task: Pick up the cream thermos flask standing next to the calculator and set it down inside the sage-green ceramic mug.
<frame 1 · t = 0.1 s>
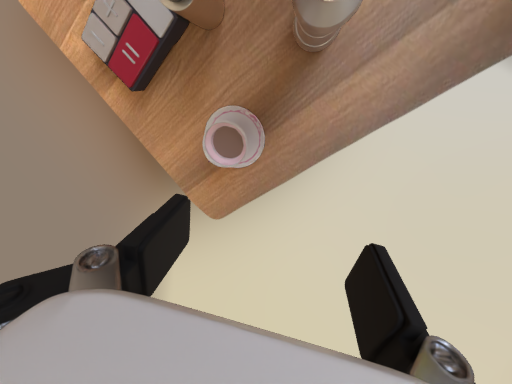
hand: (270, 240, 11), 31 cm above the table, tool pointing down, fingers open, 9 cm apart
flask: (207, 7, 32), on the table
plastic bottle: (316, 27, 31), on the table
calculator: (141, 32, 36), on the table
teacup: (235, 137, 41), on the table
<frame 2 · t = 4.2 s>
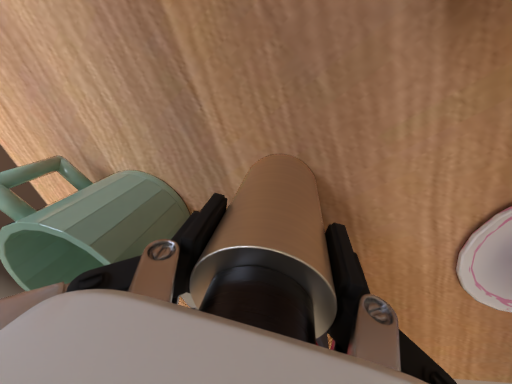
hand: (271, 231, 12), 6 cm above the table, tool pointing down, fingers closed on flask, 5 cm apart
flask: (279, 188, 17), on the table, touching gripper
mug: (146, 215, 21), on the table
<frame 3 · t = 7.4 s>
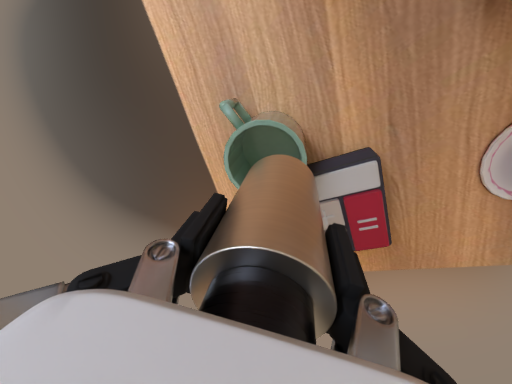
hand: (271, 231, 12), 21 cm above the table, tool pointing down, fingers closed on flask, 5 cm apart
flask: (279, 188, 17), point 15 cm above the table, touching gripper
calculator: (340, 201, 33), on the table
mug: (271, 145, 31), on the table
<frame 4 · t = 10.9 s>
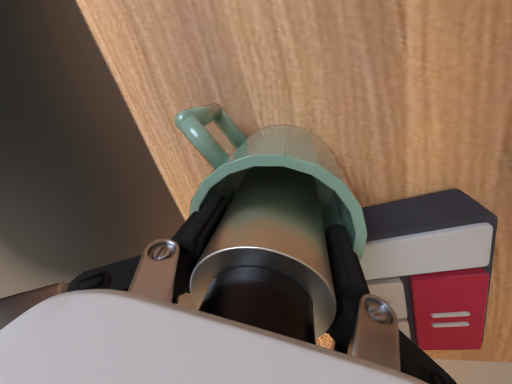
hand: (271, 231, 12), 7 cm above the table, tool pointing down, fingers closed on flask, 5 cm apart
flask: (279, 188, 17), point 2 cm above the table, touching gripper
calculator: (390, 266, 21), on the table
mug: (281, 180, 18), on the table
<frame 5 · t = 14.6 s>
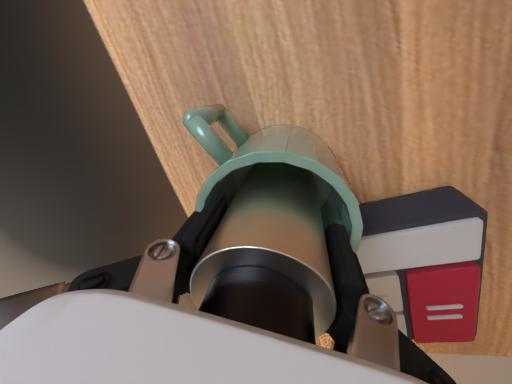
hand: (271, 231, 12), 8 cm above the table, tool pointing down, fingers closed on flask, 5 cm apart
flask: (279, 188, 17), point 3 cm above the table, touching gripper
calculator: (387, 262, 21), on the table
mug: (282, 178, 19), on the table
when the fingers open (8 cm above the table, at t = 18.1 s): flask drops 2 cm, resting on mug.
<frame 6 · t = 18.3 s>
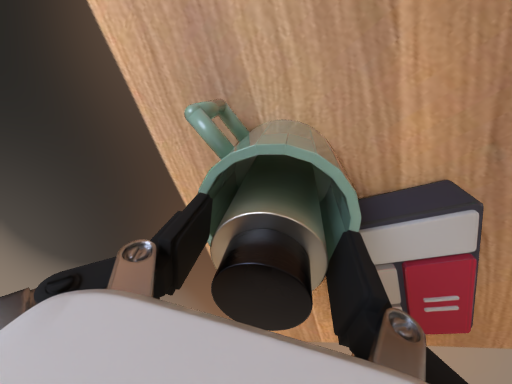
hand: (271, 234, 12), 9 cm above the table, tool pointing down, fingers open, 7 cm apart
flask: (281, 176, 19), point 1 cm above the table, touching mug
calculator: (386, 255, 22), on the table
mug: (282, 173, 19), on the table, touching flask
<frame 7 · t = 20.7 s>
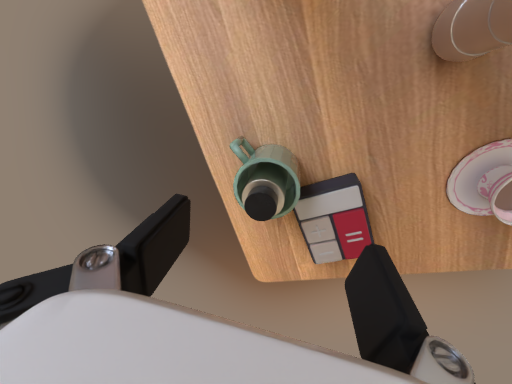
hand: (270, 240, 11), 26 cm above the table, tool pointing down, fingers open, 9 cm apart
flask: (271, 172, 36), point 1 cm above the table, touching mug
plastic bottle: (454, 31, 25), on the table
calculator: (331, 216, 39), on the table
teacup: (492, 178, 31), on the table
mug: (272, 171, 37), on the table, touching flask
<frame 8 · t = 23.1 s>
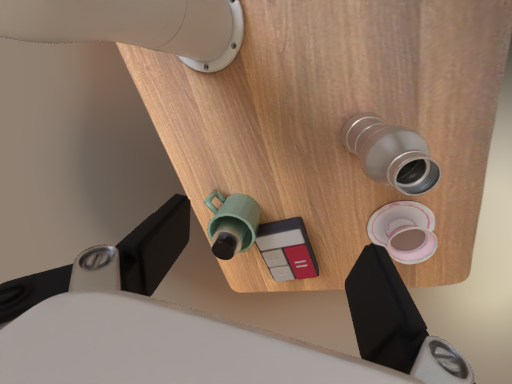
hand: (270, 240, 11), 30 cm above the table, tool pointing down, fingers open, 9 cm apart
flask: (239, 213, 47), point 1 cm above the table, touching mug
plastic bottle: (359, 131, 36), on the table
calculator: (287, 245, 50), on the table
teacup: (398, 225, 42), on the table
mug: (240, 212, 48), on the table, touching flask
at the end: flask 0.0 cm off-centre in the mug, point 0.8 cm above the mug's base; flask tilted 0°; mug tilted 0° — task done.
